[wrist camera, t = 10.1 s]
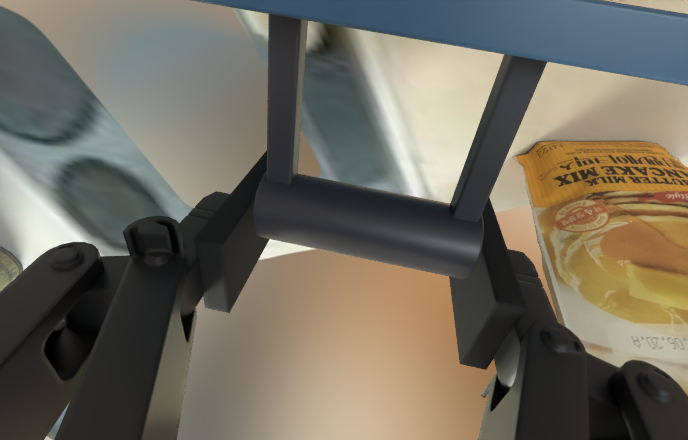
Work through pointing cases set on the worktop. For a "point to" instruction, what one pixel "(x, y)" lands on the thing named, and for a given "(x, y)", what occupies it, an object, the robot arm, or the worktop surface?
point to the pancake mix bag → (615, 247)
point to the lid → (493, 131)
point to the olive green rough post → (8, 268)
